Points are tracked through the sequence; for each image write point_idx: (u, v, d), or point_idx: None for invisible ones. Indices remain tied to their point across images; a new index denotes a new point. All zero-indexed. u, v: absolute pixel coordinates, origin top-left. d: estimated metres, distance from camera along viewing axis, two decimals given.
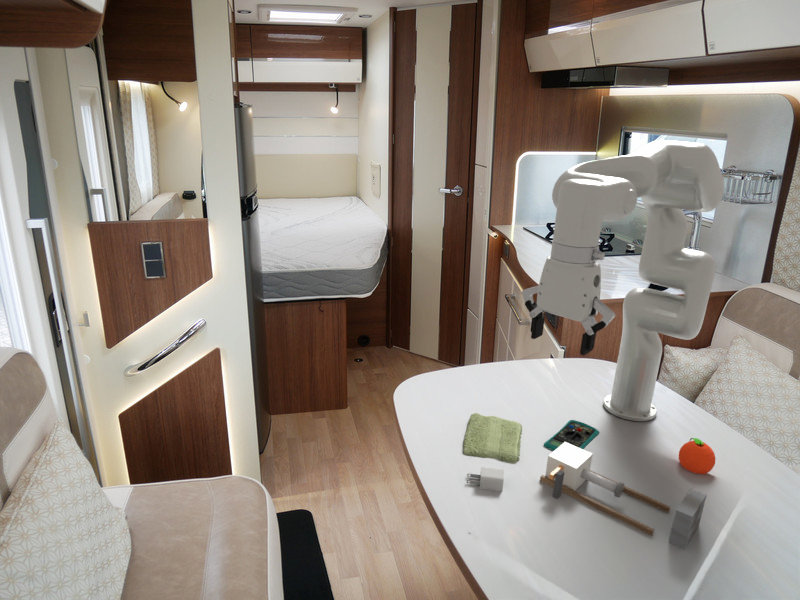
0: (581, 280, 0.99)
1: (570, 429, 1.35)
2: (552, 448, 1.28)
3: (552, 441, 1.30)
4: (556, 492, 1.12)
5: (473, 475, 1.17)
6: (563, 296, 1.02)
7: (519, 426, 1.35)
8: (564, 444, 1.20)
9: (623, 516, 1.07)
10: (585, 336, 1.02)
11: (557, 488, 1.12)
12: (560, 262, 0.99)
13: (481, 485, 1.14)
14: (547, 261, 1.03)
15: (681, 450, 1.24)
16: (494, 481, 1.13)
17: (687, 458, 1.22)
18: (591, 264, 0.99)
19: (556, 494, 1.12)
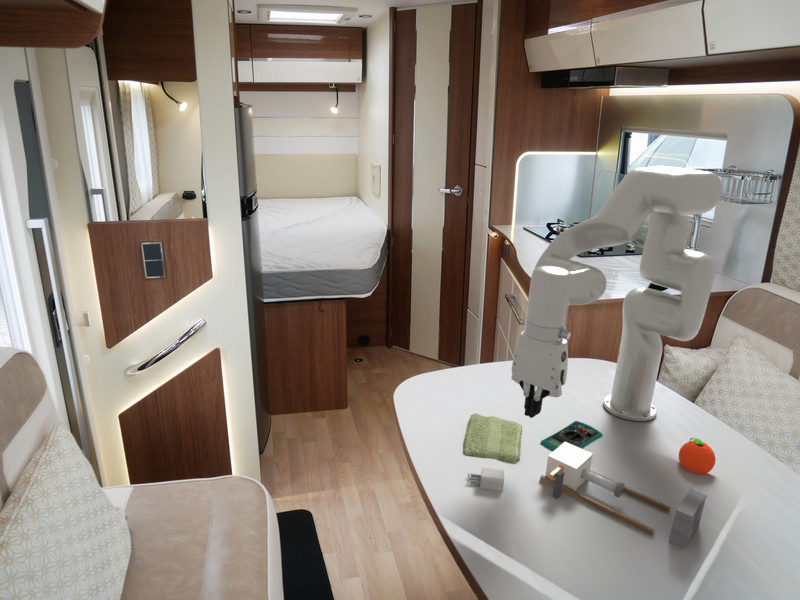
0: (549, 355, 1.12)
1: (572, 429, 1.35)
2: (548, 446, 1.28)
3: (550, 439, 1.31)
4: (556, 492, 1.12)
5: (473, 475, 1.17)
6: (534, 368, 1.14)
7: (519, 426, 1.35)
8: (564, 444, 1.20)
9: (623, 516, 1.07)
10: (533, 402, 1.17)
11: (557, 488, 1.12)
12: (531, 339, 1.12)
13: (481, 485, 1.14)
14: (521, 336, 1.16)
15: (681, 450, 1.24)
16: (494, 481, 1.13)
17: (687, 458, 1.22)
18: (559, 342, 1.12)
19: (556, 494, 1.12)
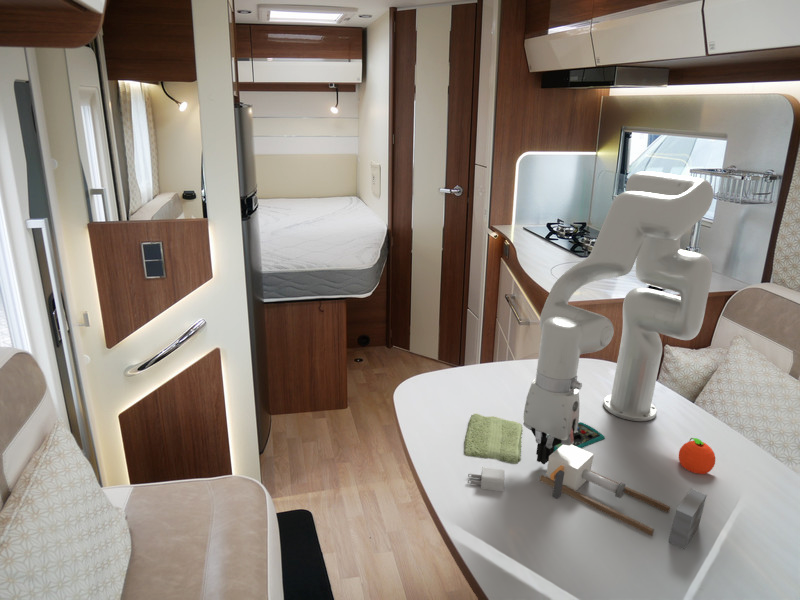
0: (561, 406, 1.13)
1: None
2: None
3: None
4: (556, 492, 1.12)
5: (474, 475, 1.17)
6: (546, 417, 1.16)
7: (519, 426, 1.35)
8: None
9: (623, 516, 1.07)
10: (545, 449, 1.18)
11: (557, 488, 1.12)
12: (543, 390, 1.13)
13: (482, 485, 1.14)
14: (532, 385, 1.17)
15: (681, 450, 1.24)
16: (495, 481, 1.13)
17: (687, 458, 1.22)
18: (570, 392, 1.13)
19: (556, 494, 1.12)
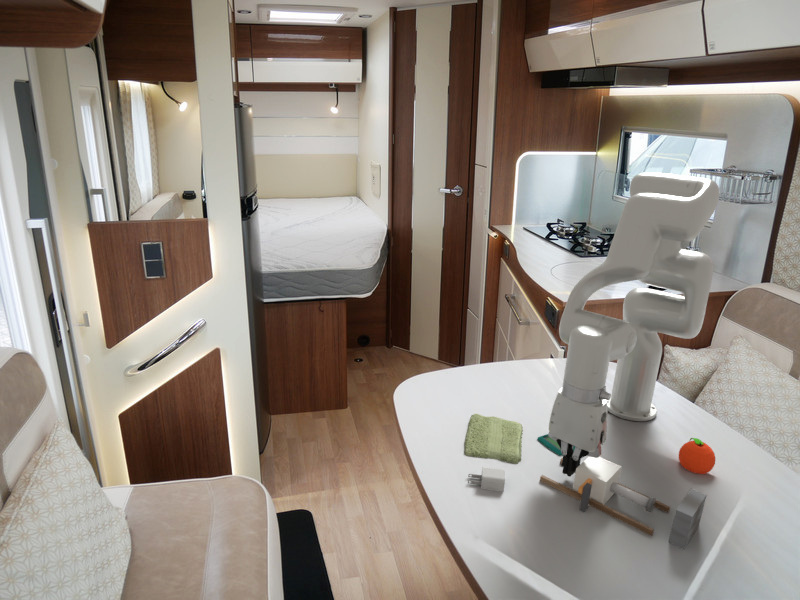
0: (589, 417, 1.09)
1: None
2: (543, 442, 1.30)
3: (548, 437, 1.32)
4: (583, 506, 1.08)
5: (474, 475, 1.17)
6: (573, 428, 1.12)
7: (520, 426, 1.35)
8: None
9: (623, 516, 1.07)
10: (571, 461, 1.15)
11: (584, 501, 1.08)
12: (570, 401, 1.10)
13: (482, 485, 1.14)
14: (558, 395, 1.13)
15: (681, 450, 1.24)
16: (495, 481, 1.13)
17: (687, 458, 1.22)
18: (599, 403, 1.09)
19: (583, 508, 1.09)
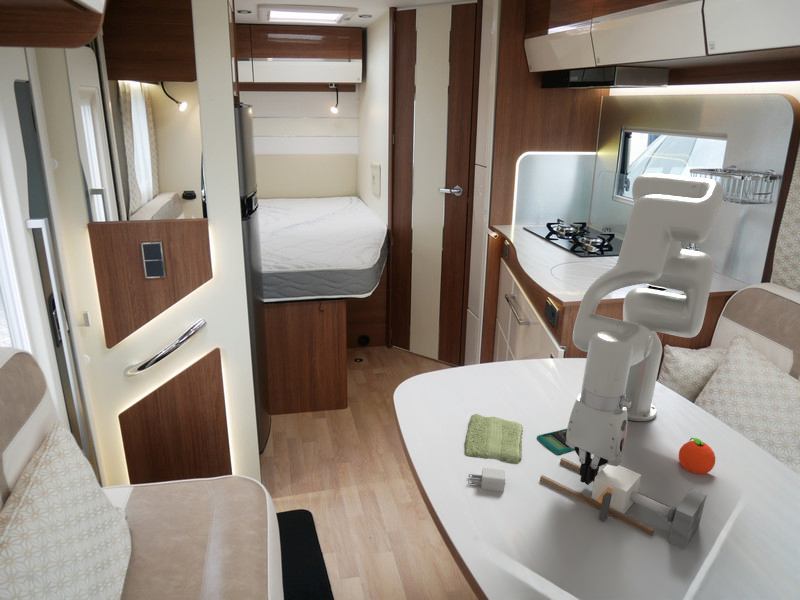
0: (609, 425, 1.07)
1: None
2: (542, 441, 1.30)
3: (548, 436, 1.32)
4: (603, 515, 1.06)
5: (474, 475, 1.17)
6: (592, 436, 1.10)
7: (520, 426, 1.35)
8: None
9: (623, 516, 1.07)
10: (589, 469, 1.13)
11: (604, 511, 1.06)
12: (590, 408, 1.07)
13: (483, 485, 1.14)
14: (577, 402, 1.11)
15: (681, 450, 1.24)
16: (496, 481, 1.13)
17: (687, 458, 1.22)
18: (619, 410, 1.07)
19: (603, 517, 1.06)
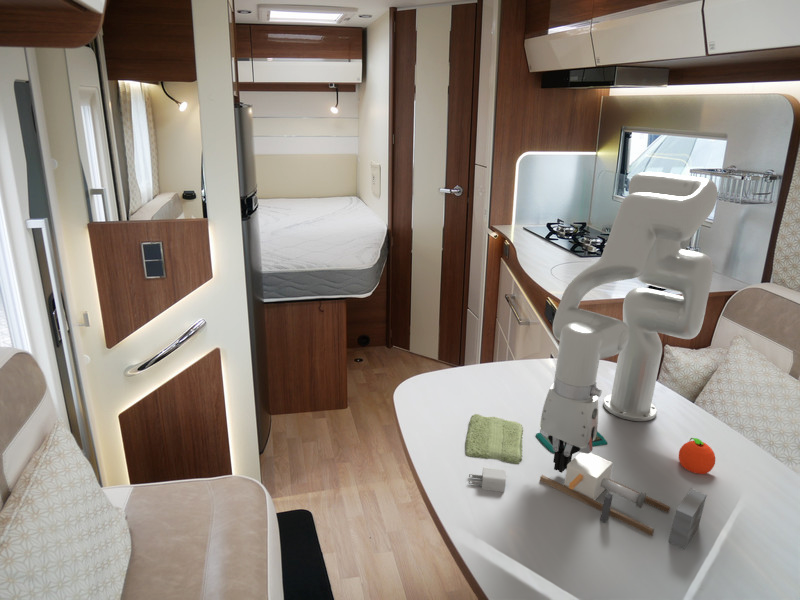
0: (580, 413, 1.10)
1: None
2: (540, 439, 1.31)
3: None
4: (604, 516, 1.06)
5: (475, 476, 1.17)
6: (564, 425, 1.13)
7: (520, 426, 1.35)
8: None
9: (623, 516, 1.07)
10: (562, 457, 1.16)
11: (605, 512, 1.06)
12: (562, 397, 1.11)
13: (483, 486, 1.14)
14: (550, 392, 1.14)
15: (681, 450, 1.24)
16: (496, 482, 1.13)
17: (687, 458, 1.22)
18: (589, 399, 1.10)
19: (604, 518, 1.06)
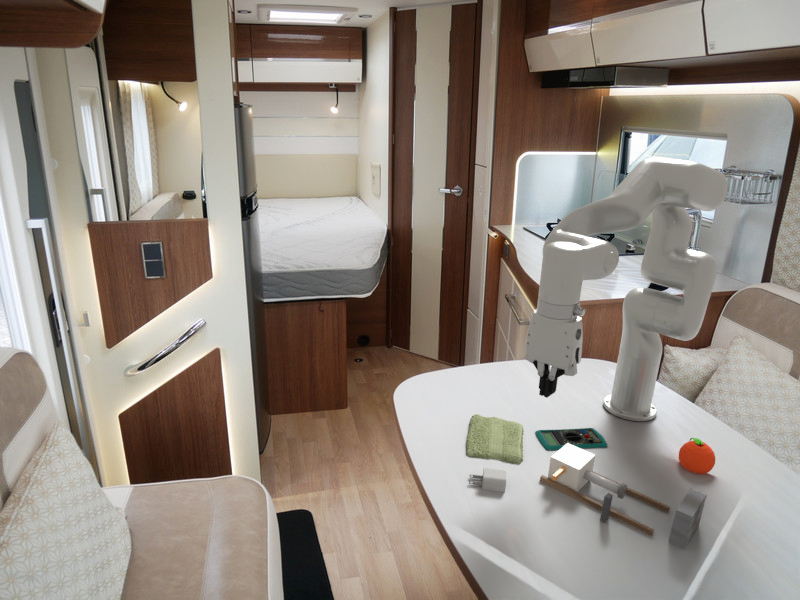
0: (564, 334, 1.09)
1: (578, 432, 1.34)
2: (538, 436, 1.32)
3: (547, 433, 1.34)
4: (604, 516, 1.06)
5: (475, 476, 1.17)
6: (548, 347, 1.12)
7: (520, 427, 1.35)
8: (567, 445, 1.20)
9: (623, 516, 1.07)
10: (547, 381, 1.15)
11: (605, 512, 1.06)
12: (545, 318, 1.09)
13: (484, 486, 1.14)
14: (534, 315, 1.13)
15: (681, 450, 1.24)
16: (497, 482, 1.13)
17: (687, 458, 1.22)
18: (573, 319, 1.09)
19: (604, 518, 1.06)
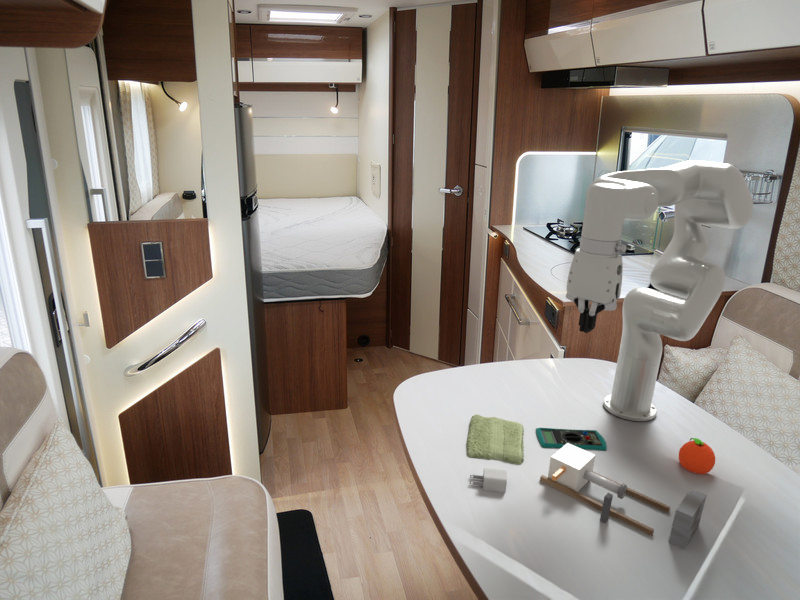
0: (606, 269, 1.17)
1: (580, 434, 1.33)
2: (537, 433, 1.33)
3: (547, 431, 1.34)
4: (604, 516, 1.06)
5: (476, 476, 1.17)
6: (590, 283, 1.19)
7: (521, 427, 1.35)
8: (567, 445, 1.20)
9: (623, 516, 1.07)
10: (588, 317, 1.22)
11: (605, 512, 1.06)
12: (588, 254, 1.17)
13: (484, 486, 1.14)
14: (576, 253, 1.20)
15: (681, 450, 1.24)
16: (497, 482, 1.13)
17: (687, 458, 1.22)
18: (614, 255, 1.17)
19: (604, 518, 1.06)
